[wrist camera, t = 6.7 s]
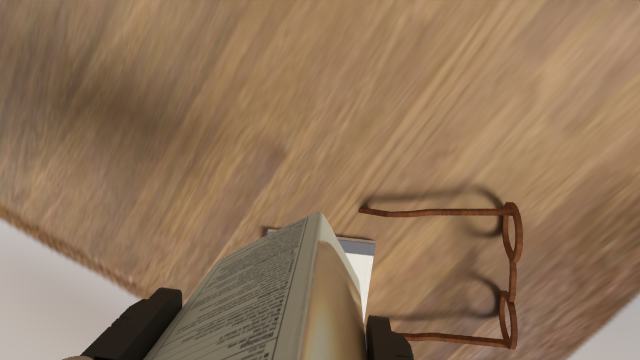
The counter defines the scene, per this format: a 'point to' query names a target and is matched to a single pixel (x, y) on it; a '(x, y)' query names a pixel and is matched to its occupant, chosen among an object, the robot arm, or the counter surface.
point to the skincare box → (273, 303)
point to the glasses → (514, 257)
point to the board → (357, 261)
